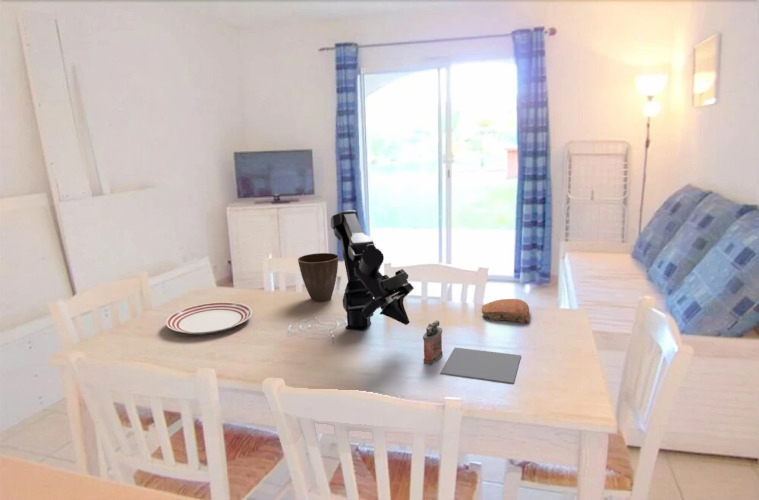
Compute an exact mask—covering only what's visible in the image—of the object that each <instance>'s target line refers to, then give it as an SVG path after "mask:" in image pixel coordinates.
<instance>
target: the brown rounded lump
mask: <svg viewBox="0 0 759 500" xmlns="http://www.w3.org/2000/svg"><path fill="white" fill-rule="evenodd" d="M481 314H482V315H483V317H486V319H489V320H490V321H493V322H495V321H508V322H514V323H520V324H528V323H529V320H530V307H529V305H528V303H527V302H526V301H524V300H522V299H520V298H519V299H518V298H506V299H502V298H501V299H496V300H493V301H491V302H488V303H485V304H484V305H482V306H481Z"/></svg>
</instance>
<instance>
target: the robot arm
mask: <svg viewBox="0 0 759 500" xmlns="http://www.w3.org/2000/svg"><path fill="white" fill-rule="evenodd" d="M330 227H331V230H333V234H334V236H335V237H336V238H337V239H338V241H340V244H341V250H342V255H343V256H342V257H343V261H344V262H343V263H344V267H345V271H346V277H347V278H346V279H347V284H346V285H345V289H344V293H343V297H342V307H343V309H344V310H345V312H346V321H347V325H346V326H345V329H347V330H353V331H365V330H366V329H368V327H369V326H370V325H371V324H372V320H371V317H373V316H374V313H375V312H376V310H378V309H380V310H381V311H380V313H379V315H384V316H385V317H388V318H391V319H393V320H395V321H397V322H398V323H401V324H403V325H405V326H408V324H409V323H410V320H409V316H408V314H407V312H406V309H405V305H404V299H405V298H406V297H407V296H408V295H409V294H410V293H411V292H412V291H413V290H414V286H413V285H412V283H411V282H409V281H408V279H409V274H408V273H407V272H406V271H405V270H404V268H402V269H399V270H396V271H395V274H394V276H391V277H389V276H388V275H387V274H384V275H383V274H382V273H381V272H380V269H381V267H382V264H383V262H384V260H385V259H384V254H383V253H382V251H381V250H380V249H379V247H378V246H377V245H376V244H377V243H375V242H374V241H373V239H372V238H371V236H369V235H367V234H365V233H364V230H363V227H362V226H361V223H360V221H359V217H358V212H357V210H354V209H347V210H342V211H340V212H339V213H336V214H333V215H332V216H331V218H330Z"/></svg>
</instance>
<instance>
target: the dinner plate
mask: <svg viewBox="0 0 759 500" xmlns="http://www.w3.org/2000/svg"><path fill="white" fill-rule="evenodd" d="M252 316H253V309H252V308H251V307H250V306H249V305H246V304H244V303H239V302H238V303H237V302H234V301H233V302H231V301H213V302H206V303H201V304H196V305H195V304H194V305H192V306H187V307H185V308H182V309H179V310H177V311H175V312H174V313H171V315H169V316H168V317H167V318H166V320H165V325H166V327H167V328H169V329H170V330H172V331H175V332H178V333H182V334H190V335H207V334H206V333H210V334H215V333H214V332H216V333H219V331H220V332H223V330H224V331H226V329H227V330H229V329H232V328H235V327H237V326H239V325H241V324H243V323H245V322H247V321H249V319H250V318H251V317H252Z"/></svg>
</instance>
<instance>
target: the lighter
mask: <svg viewBox="0 0 759 500" xmlns="http://www.w3.org/2000/svg"><path fill="white" fill-rule="evenodd" d="M439 326H440V321H439V319H436V320H435V321H433V322H432V323H428V325H427V326H426V331H425V333H424V334H423V336H422V339H423V357H424V358H423V364H424V365H426V366H427V365H429V366H431V365H433V364H436V363H437V362H439V360H440V359H441V358H442V356H443V349H442V348H443V345H442V344H443V341H442V339H443V337H442V336H443V328H442V327H439Z"/></svg>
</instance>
